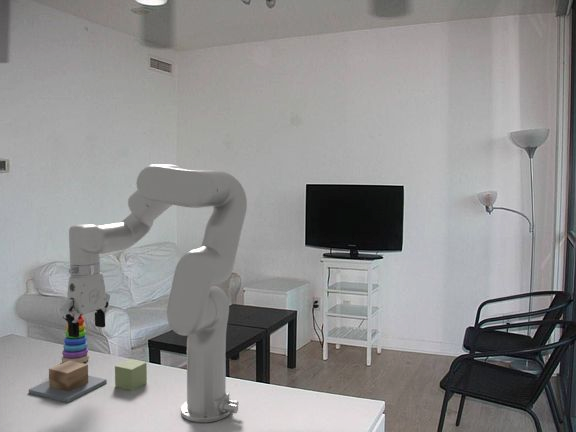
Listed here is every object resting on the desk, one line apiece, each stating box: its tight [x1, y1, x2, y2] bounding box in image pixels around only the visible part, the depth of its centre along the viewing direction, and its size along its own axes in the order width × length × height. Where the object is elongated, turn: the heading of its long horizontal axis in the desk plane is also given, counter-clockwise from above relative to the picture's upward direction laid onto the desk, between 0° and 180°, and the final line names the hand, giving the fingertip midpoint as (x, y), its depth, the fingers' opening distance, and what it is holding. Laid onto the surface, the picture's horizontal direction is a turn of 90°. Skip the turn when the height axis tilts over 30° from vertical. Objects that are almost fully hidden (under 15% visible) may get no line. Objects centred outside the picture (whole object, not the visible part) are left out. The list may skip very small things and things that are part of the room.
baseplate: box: [28, 375, 107, 404], centre depth 143 cm, size 14×14×1 cm
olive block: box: [114, 358, 148, 392], centre depth 145 cm, size 6×6×6 cm
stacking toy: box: [61, 311, 90, 364], centre depth 162 cm, size 8×8×19 cm
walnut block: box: [48, 360, 89, 391], centre depth 142 cm, size 7×7×5 cm
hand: (87, 331), depth 142 cm, fingers open, 9 cm apart
